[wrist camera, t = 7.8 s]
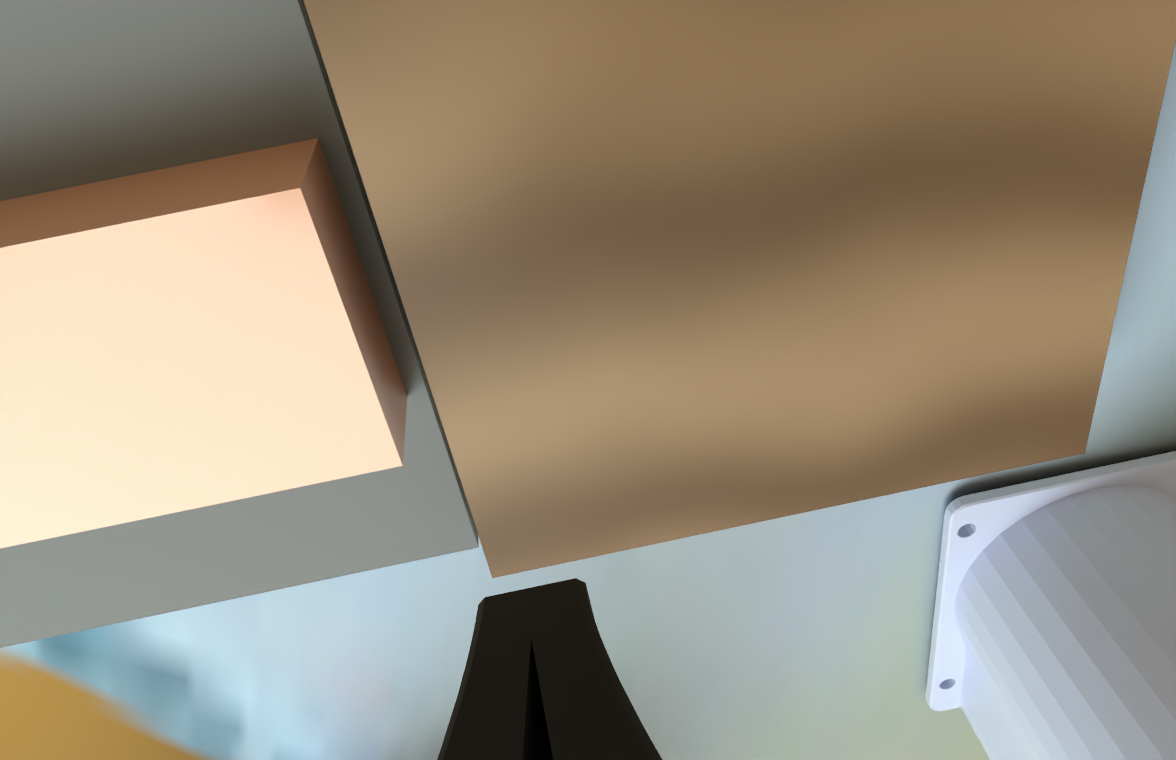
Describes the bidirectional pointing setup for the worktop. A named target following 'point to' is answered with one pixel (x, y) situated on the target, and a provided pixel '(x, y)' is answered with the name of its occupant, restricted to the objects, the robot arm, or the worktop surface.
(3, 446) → the tile
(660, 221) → the brown wooden flat slab
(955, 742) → the worktop surface
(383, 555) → the mat
